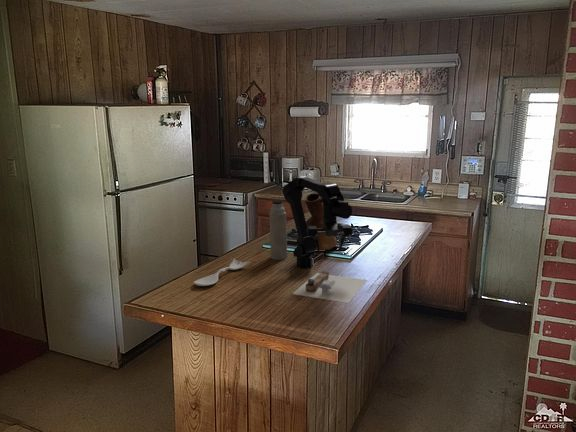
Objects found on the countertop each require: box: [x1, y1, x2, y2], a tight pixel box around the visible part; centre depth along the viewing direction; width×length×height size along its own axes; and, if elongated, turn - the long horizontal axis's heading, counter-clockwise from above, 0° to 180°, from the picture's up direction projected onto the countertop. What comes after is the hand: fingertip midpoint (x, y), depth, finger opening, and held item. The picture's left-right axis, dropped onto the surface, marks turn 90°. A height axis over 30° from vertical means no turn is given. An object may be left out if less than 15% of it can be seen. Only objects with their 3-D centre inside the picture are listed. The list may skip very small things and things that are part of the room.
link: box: [306, 271, 330, 292], centre depth 199 cm, size 19×4×2 cm, turn 154°
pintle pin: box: [307, 278, 314, 285], centre depth 193 cm, size 2×2×2 cm
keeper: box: [320, 280, 335, 296], centre depth 191 cm, size 5×8×4 cm
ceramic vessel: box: [304, 192, 339, 250], centre depth 244 cm, size 16×22×30 cm
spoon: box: [192, 258, 250, 287], centre depth 213 cm, size 9×32×4 cm, turn 150°
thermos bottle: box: [268, 200, 288, 261], centre depth 235 cm, size 8×8×28 cm
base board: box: [292, 272, 369, 304], centre depth 197 cm, size 23×25×1 cm
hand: (329, 249), depth 206 cm, fingers open, 9 cm apart
